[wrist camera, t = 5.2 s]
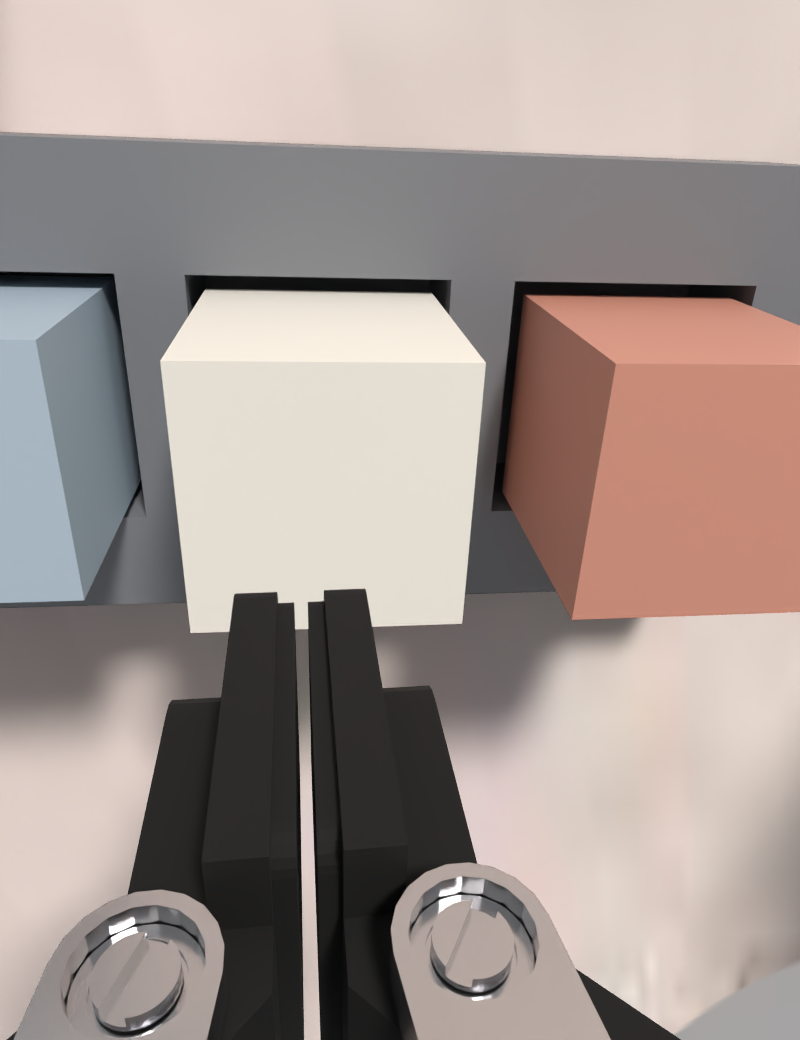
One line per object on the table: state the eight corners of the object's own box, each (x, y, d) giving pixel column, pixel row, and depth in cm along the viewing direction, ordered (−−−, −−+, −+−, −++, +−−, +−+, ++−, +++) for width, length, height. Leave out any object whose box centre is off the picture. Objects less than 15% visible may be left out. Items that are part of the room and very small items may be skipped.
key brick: (728, 297, 20) (900, 365, 14) (684, 488, 22) (813, 611, 17) (523, 294, 19) (615, 364, 14) (502, 491, 22) (572, 619, 16)
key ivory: (431, 292, 19) (485, 363, 13) (420, 492, 22) (462, 623, 16) (205, 288, 18) (160, 360, 13) (221, 495, 21) (190, 632, 15)
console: (766, 162, 22) (855, 168, 18) (680, 527, 27) (735, 585, 24) (-205, 124, 19) (-323, 123, 15) (-82, 542, 24) (-147, 612, 21)
